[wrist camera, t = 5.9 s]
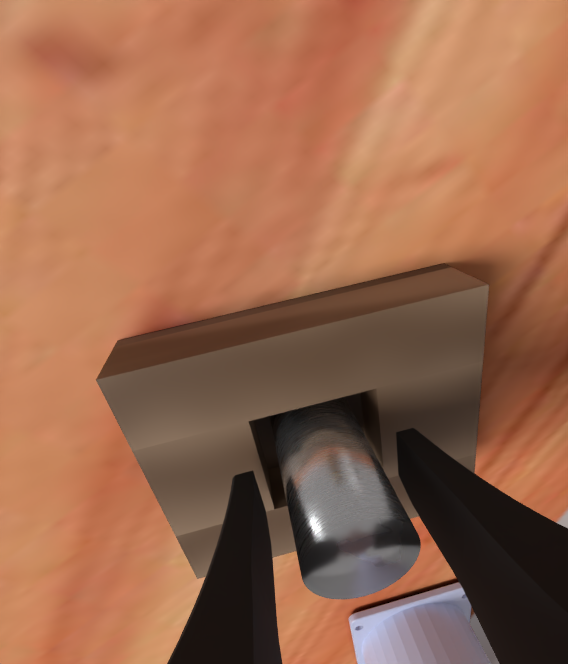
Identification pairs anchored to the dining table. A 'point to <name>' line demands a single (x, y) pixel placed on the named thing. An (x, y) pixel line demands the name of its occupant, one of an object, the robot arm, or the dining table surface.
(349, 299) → the bore block
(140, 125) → the dining table surface
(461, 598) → the robot arm
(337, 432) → the pin
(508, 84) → the dining table surface
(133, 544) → the dining table surface
